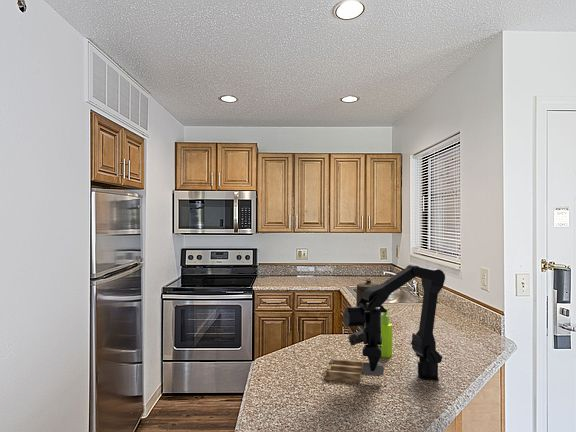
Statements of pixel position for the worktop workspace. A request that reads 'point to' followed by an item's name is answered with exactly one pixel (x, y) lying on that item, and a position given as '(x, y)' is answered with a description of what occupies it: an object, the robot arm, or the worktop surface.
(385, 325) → the soap dispenser
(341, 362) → the slot board
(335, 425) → the worktop surface
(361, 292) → the wooden container
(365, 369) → the tall grey block
